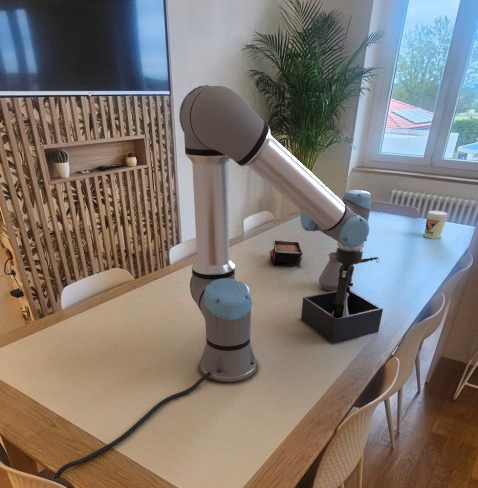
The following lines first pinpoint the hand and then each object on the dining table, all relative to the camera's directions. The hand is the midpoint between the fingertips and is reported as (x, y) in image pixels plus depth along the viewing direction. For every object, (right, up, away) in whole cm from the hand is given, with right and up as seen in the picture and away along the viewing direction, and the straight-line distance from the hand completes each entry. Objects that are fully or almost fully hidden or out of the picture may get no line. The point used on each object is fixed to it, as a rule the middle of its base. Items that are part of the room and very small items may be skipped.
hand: (340, 314), depth 138 cm
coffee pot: (+8, +12, +27) cm, 30 cm away
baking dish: (-12, +29, +53) cm, 62 cm away
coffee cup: (+68, +51, +87) cm, 121 cm away
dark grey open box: (0, -3, +2) cm, 4 cm away
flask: (0, -3, +2) cm, 3 cm away
